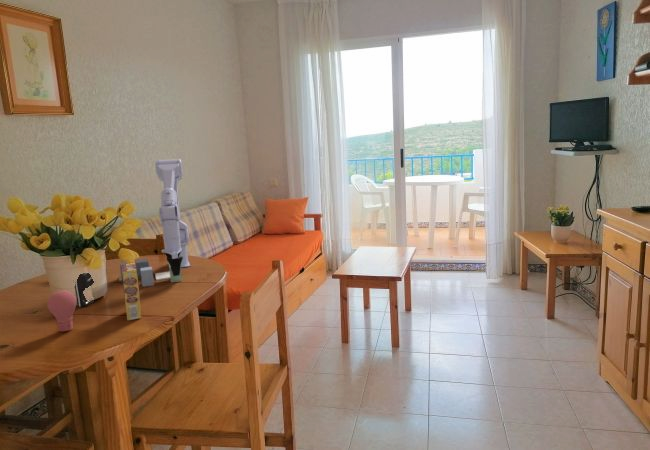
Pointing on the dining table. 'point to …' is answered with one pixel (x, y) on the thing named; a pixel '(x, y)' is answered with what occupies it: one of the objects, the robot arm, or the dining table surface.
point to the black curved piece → (83, 288)
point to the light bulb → (62, 308)
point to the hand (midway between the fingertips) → (175, 272)
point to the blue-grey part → (147, 276)
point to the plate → (162, 275)
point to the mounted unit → (139, 264)
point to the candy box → (131, 291)
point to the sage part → (175, 278)
